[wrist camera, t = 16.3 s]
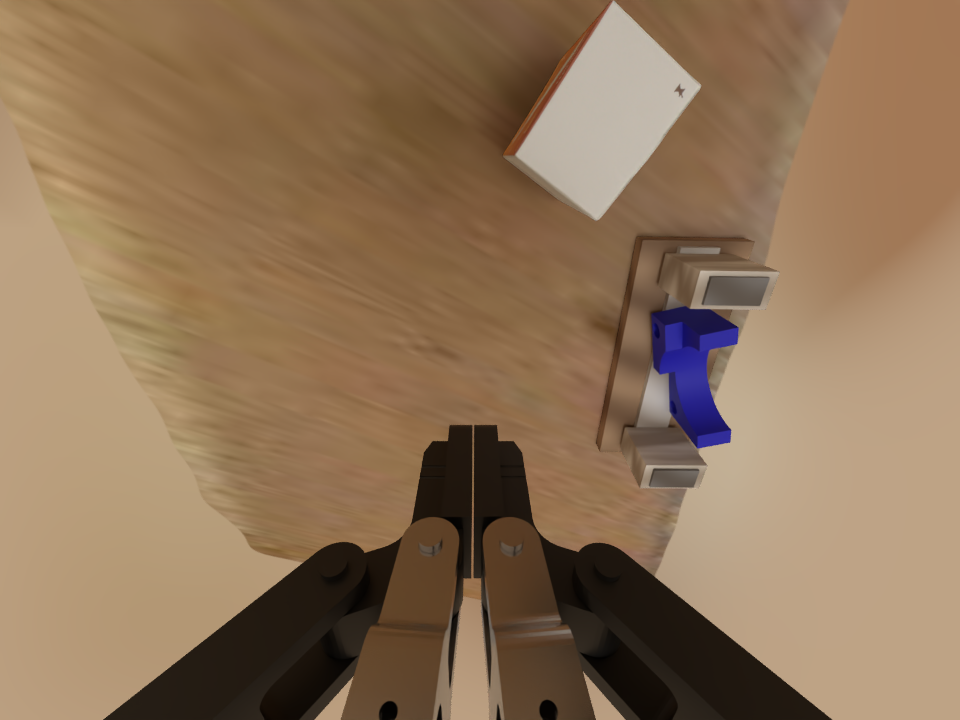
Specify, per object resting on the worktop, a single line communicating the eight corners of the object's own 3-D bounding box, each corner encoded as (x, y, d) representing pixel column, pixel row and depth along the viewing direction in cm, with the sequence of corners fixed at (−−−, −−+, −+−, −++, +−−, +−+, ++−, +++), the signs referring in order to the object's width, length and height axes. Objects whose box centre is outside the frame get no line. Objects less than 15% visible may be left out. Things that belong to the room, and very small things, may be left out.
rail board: (636, 236, 36) (679, 257, 28) (744, 238, 36) (814, 259, 28) (596, 443, 47) (619, 497, 39) (678, 443, 47) (717, 497, 39)
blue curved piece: (651, 313, 37) (680, 339, 32) (700, 302, 37) (738, 327, 31) (655, 414, 42) (681, 451, 37) (697, 406, 42) (730, 442, 37)
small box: (560, 57, 30) (615, -8, 18) (621, 111, 31) (707, 84, 20) (499, 156, 33) (512, 156, 21) (558, 202, 34) (600, 224, 23)
